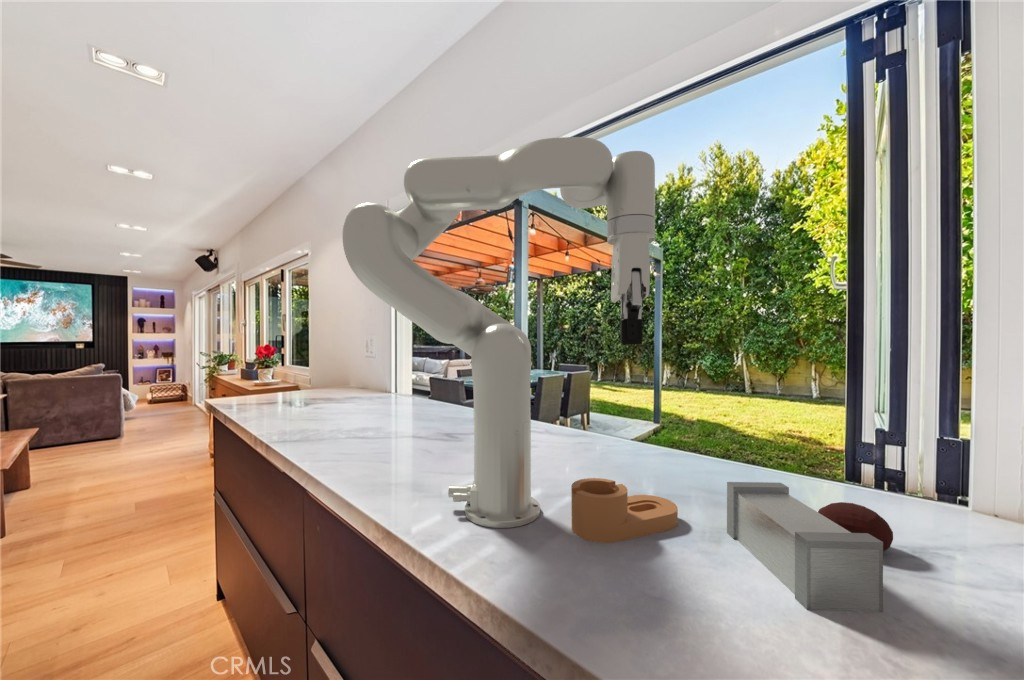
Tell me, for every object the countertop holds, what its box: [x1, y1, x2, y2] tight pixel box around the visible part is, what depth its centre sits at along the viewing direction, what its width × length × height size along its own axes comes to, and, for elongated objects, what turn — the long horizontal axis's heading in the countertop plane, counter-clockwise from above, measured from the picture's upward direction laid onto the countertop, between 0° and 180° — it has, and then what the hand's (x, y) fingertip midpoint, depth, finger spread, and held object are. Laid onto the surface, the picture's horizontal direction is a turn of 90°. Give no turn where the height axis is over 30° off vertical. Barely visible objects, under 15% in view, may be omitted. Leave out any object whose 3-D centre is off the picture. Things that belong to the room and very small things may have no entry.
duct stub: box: [726, 481, 884, 613], centre depth 53 cm, size 8×18×8 cm, turn 177°
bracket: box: [571, 477, 679, 544], centre depth 65 cm, size 18×8×7 cm, turn 113°
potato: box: [817, 502, 894, 552], centre depth 58 cm, size 7×8×6 cm
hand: (631, 344), depth 68 cm, fingers closed
